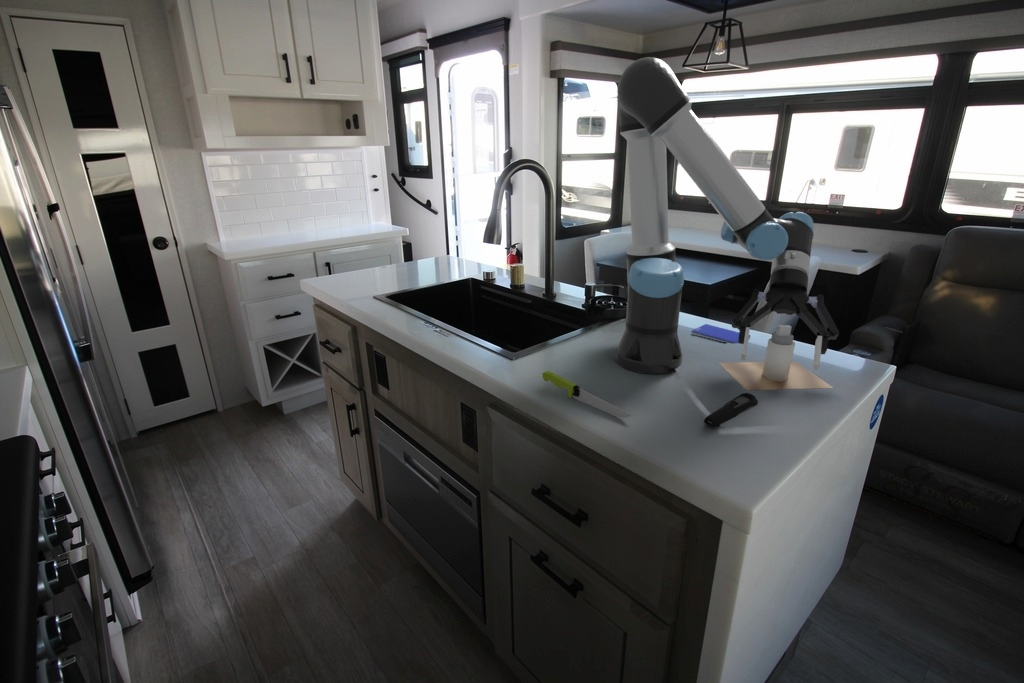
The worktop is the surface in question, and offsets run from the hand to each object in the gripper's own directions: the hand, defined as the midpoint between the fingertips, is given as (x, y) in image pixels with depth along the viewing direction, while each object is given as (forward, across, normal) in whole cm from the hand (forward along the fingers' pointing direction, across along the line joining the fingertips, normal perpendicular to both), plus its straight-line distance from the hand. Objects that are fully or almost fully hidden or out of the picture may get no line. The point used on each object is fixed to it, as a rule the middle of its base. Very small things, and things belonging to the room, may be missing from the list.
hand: (779, 362), depth 106 cm
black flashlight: (+17, -8, -9) cm, 20 cm away
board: (+2, 0, +6) cm, 6 cm away
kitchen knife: (+21, -34, -13) cm, 42 cm away
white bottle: (+2, 0, +4) cm, 5 cm away
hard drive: (-15, -13, +23) cm, 31 cm away
